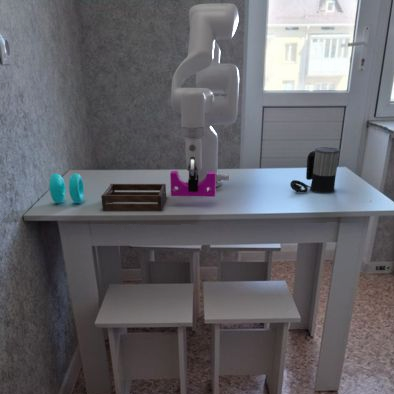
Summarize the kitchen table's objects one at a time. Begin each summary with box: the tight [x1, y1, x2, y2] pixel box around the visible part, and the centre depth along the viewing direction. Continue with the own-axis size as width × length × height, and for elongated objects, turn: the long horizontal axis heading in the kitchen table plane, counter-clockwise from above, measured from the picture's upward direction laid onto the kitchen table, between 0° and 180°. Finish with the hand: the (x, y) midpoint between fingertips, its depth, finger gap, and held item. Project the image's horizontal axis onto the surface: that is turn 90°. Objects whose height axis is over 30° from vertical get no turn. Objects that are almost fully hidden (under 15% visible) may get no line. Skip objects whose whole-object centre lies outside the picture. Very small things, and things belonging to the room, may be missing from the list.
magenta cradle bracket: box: [169, 170, 217, 198], centre depth 168 cm, size 15×6×8 cm, turn 85°
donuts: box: [49, 173, 85, 204], centre depth 171 cm, size 10×10×10 cm
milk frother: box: [289, 146, 341, 194], centre depth 182 cm, size 14×16×15 cm
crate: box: [100, 183, 167, 212], centre depth 171 cm, size 20×17×5 cm
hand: (193, 188), depth 169 cm, fingers closed on magenta cradle bracket, 6 cm apart
